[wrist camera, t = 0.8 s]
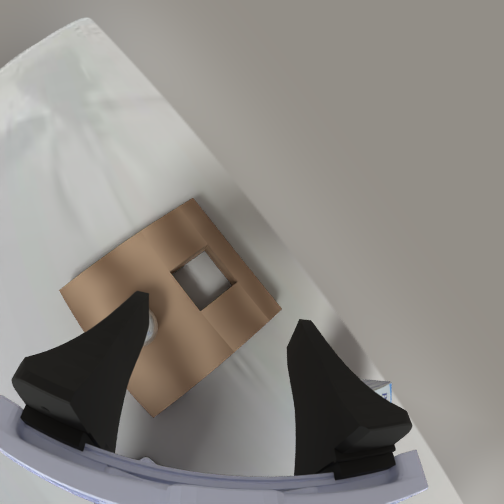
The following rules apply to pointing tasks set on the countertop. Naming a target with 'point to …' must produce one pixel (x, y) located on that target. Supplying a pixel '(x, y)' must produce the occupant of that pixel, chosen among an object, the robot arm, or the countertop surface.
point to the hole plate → (174, 303)
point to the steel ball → (151, 329)
